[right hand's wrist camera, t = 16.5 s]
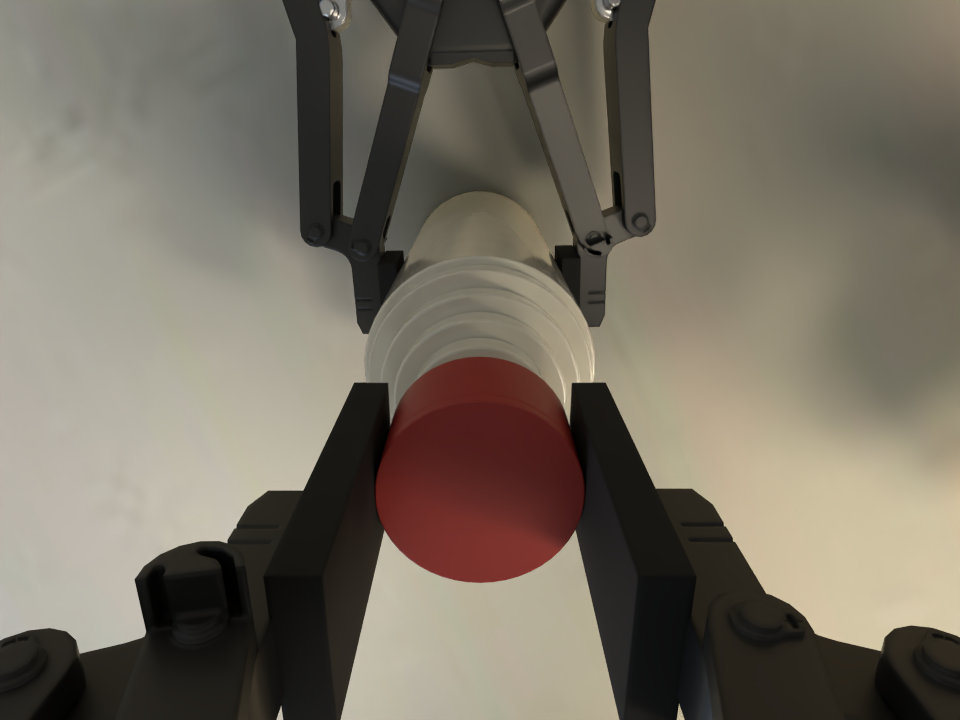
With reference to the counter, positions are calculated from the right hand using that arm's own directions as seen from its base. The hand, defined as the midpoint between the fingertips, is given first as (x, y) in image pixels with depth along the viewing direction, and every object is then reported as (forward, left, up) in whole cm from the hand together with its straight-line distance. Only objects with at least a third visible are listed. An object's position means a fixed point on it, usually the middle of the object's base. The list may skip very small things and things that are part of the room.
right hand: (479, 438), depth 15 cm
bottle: (0, 0, -21) cm, 21 cm away
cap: (0, 0, +2) cm, 2 cm away
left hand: (-2, +4, -14) cm, 15 cm away
